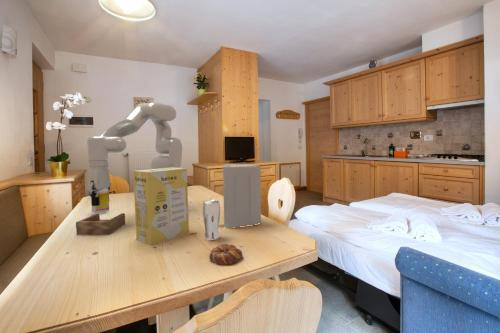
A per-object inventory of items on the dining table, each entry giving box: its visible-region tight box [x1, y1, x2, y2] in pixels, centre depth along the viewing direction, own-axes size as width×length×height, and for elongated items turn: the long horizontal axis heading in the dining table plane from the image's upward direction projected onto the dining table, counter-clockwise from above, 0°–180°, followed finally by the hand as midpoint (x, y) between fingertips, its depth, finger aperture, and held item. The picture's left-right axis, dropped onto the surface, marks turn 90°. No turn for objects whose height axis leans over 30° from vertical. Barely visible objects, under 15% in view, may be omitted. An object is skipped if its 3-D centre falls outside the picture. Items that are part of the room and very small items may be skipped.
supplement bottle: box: [91, 188, 110, 213], centre depth 115 cm, size 7×7×13 cm
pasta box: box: [132, 167, 190, 246], centre depth 106 cm, size 18×10×28 cm, turn 143°
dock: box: [75, 213, 126, 236], centre depth 116 cm, size 14×14×6 cm
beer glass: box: [202, 199, 221, 241], centre depth 103 cm, size 7×7×15 cm
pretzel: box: [208, 243, 243, 266], centre depth 86 cm, size 12×11×4 cm
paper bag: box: [222, 163, 262, 229], centre depth 121 cm, size 19×15×28 cm
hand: (100, 203), depth 115 cm, fingers closed on supplement bottle, 6 cm apart
